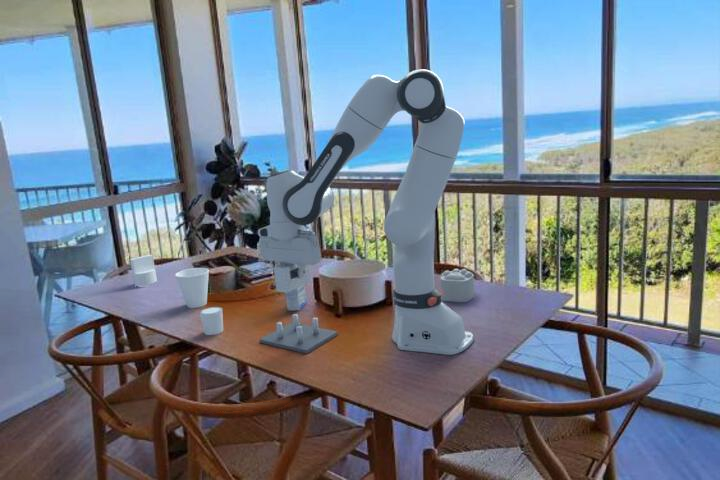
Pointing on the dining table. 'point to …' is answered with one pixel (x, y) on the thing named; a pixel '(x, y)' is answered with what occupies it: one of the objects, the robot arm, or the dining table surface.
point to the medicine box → (296, 299)
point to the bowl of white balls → (457, 285)
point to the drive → (290, 277)
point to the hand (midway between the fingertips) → (292, 276)
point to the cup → (194, 286)
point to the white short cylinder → (212, 320)
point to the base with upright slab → (143, 270)
